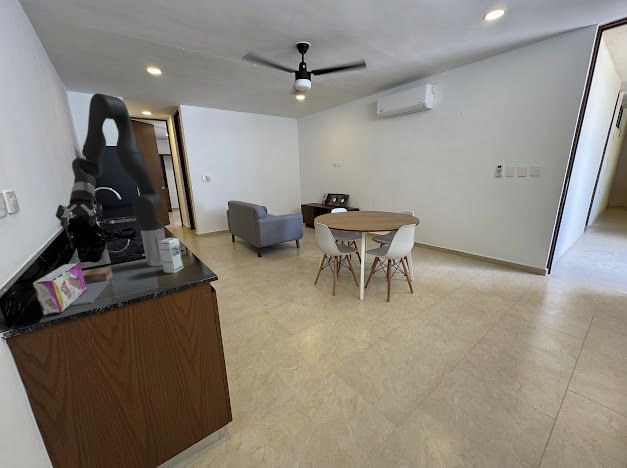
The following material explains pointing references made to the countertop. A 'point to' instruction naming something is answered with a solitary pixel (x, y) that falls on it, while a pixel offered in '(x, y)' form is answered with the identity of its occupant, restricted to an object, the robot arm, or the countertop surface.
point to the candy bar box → (60, 288)
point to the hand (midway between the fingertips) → (77, 225)
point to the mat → (90, 293)
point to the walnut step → (97, 275)
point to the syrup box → (171, 255)
